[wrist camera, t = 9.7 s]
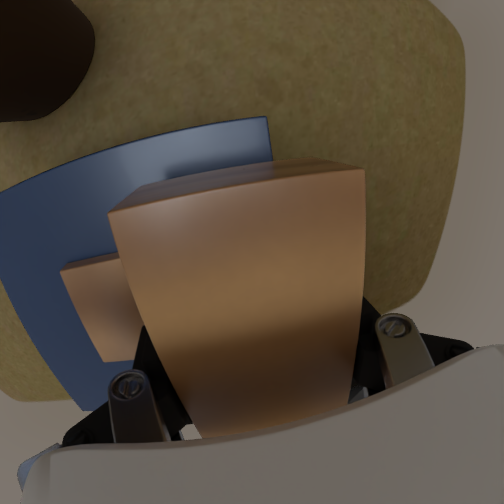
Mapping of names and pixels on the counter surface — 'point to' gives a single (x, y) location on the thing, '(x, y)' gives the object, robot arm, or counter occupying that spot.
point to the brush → (250, 287)
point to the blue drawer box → (96, 233)
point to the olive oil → (41, 56)
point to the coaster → (105, 305)
